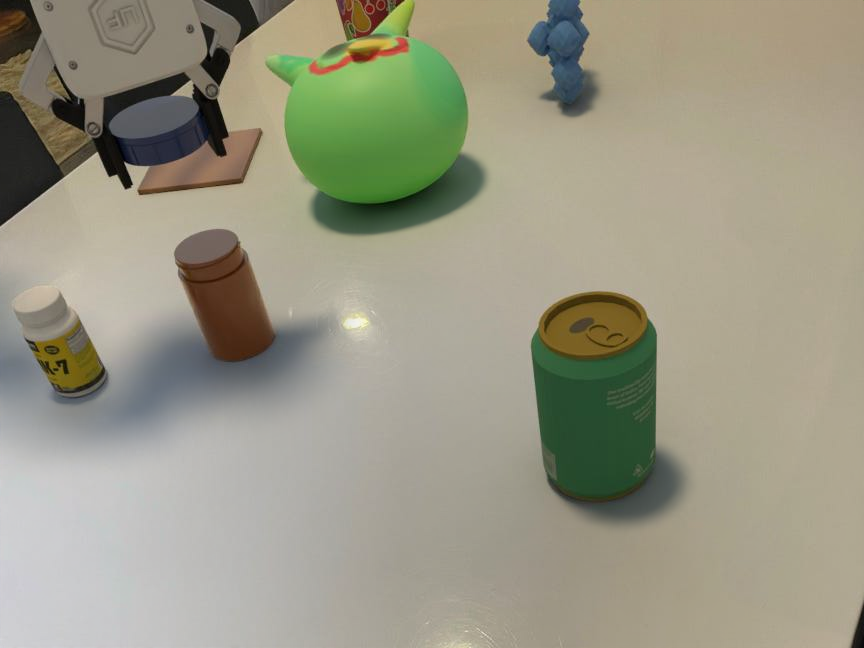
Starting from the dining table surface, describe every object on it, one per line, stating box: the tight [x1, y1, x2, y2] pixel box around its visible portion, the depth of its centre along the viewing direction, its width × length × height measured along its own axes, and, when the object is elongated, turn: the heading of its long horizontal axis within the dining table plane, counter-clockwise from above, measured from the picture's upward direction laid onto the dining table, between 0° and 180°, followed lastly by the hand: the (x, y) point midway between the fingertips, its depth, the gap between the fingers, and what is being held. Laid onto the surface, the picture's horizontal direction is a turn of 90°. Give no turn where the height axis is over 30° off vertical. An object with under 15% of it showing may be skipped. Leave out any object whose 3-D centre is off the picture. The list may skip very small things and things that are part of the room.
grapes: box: [526, 0, 590, 105], centre depth 103 cm, size 12×7×12 cm, turn 175°
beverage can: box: [530, 290, 658, 502], centre depth 65 cm, size 8×8×12 cm
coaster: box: [137, 127, 263, 195], centre depth 109 cm, size 12×12×1 cm
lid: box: [108, 95, 209, 167], centre depth 72 cm, size 7×7×2 cm
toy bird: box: [264, 0, 469, 205], centre depth 94 cm, size 18×17×15 cm
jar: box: [173, 228, 276, 362], centre depth 82 cm, size 6×6×9 cm
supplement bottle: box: [11, 284, 107, 398], centre depth 82 cm, size 5×5×8 cm
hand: (171, 164), depth 74 cm, fingers closed on lid, 6 cm apart
